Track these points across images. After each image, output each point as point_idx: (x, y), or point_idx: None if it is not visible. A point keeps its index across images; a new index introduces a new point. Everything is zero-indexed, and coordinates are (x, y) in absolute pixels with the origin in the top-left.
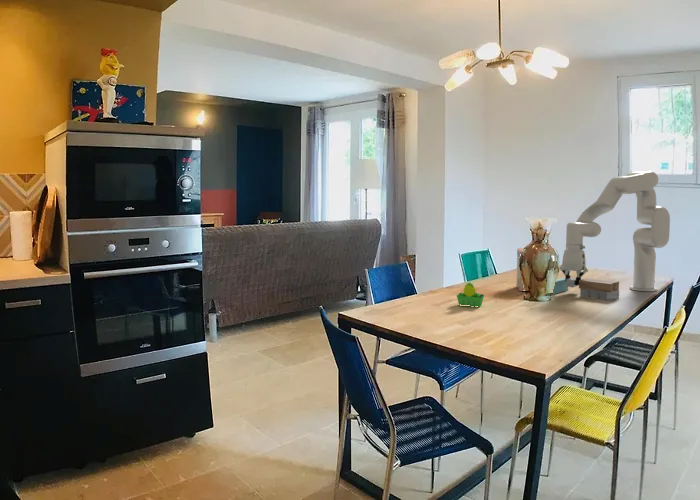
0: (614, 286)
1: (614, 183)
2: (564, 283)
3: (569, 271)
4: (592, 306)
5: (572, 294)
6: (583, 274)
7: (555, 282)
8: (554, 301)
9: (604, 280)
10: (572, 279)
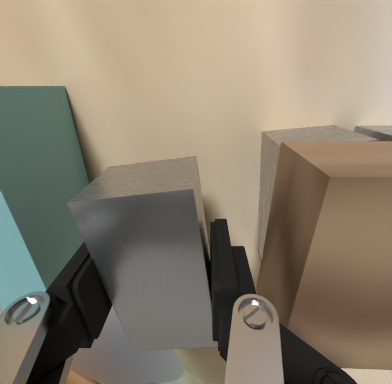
0: None
1: None
2: (38, 176)
3: (22, 379)
4: (367, 372)
5: None
6: (322, 359)
7: None
8: (210, 374)
9: None
10: (175, 320)
